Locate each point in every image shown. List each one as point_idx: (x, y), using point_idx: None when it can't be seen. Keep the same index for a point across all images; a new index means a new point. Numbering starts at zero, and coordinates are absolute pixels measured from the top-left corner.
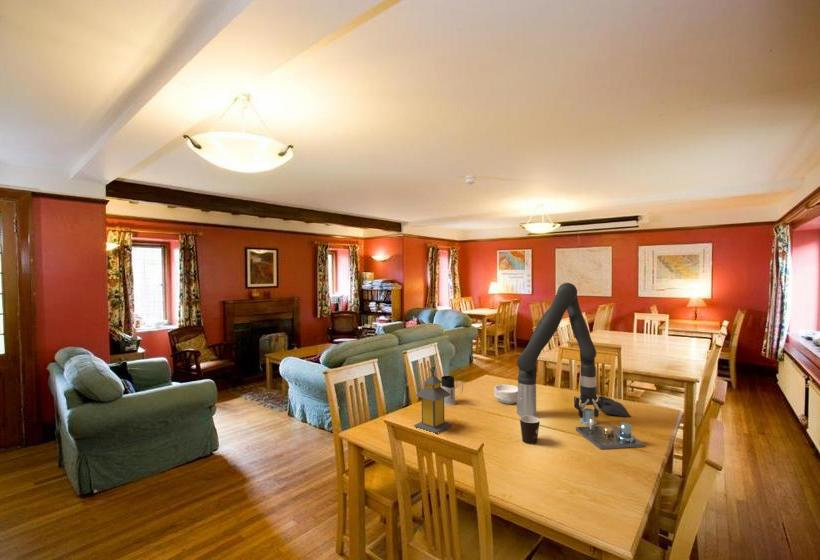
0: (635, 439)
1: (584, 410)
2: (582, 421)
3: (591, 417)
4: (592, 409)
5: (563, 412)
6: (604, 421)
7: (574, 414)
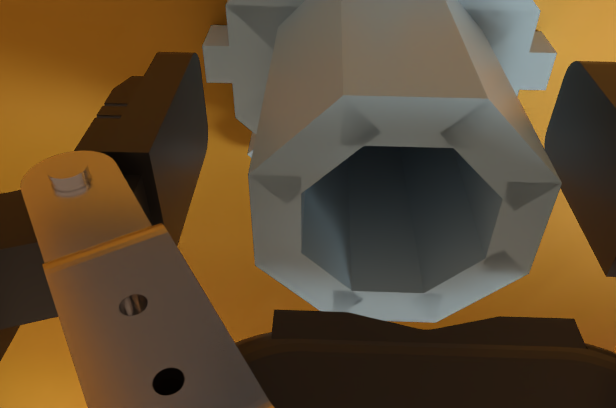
0: None
1: (548, 201)
2: (524, 47)
3: (372, 4)
4: (256, 213)
5: None
6: (19, 52)
7: None
